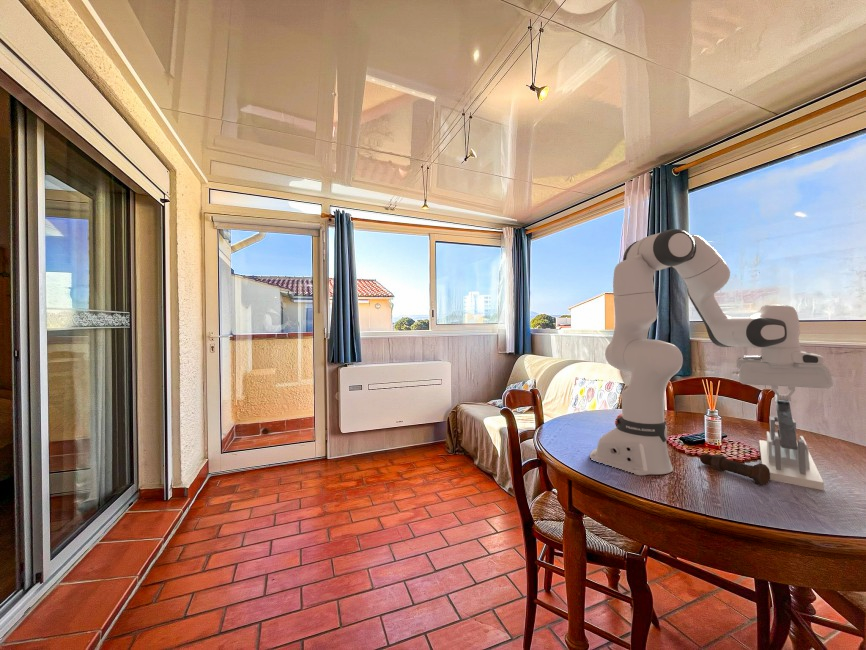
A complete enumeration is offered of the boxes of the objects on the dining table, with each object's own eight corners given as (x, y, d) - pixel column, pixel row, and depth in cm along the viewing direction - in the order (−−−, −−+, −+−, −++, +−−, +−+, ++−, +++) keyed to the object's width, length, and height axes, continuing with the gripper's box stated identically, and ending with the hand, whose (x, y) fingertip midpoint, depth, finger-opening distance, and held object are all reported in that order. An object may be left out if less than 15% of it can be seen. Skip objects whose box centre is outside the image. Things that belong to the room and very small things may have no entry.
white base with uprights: (763, 478, 93) (761, 437, 93) (759, 445, 117) (758, 413, 117) (824, 490, 86) (821, 446, 86) (806, 452, 109) (805, 418, 109)
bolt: (705, 470, 104) (767, 489, 90) (695, 464, 102) (757, 483, 88) (709, 451, 105) (772, 468, 91) (700, 446, 104) (762, 461, 90)
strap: (781, 447, 94) (781, 444, 93) (774, 397, 110) (774, 394, 109) (797, 449, 92) (797, 447, 91) (788, 398, 108) (788, 395, 107)
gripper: (736, 356, 111) (738, 399, 110) (832, 357, 97) (835, 406, 97) (736, 354, 115) (739, 395, 115) (828, 355, 101) (831, 401, 101)
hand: (783, 400), depth 106 cm, fingers closed, pressing on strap
